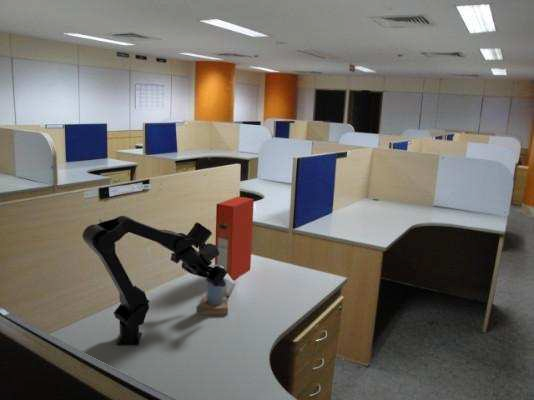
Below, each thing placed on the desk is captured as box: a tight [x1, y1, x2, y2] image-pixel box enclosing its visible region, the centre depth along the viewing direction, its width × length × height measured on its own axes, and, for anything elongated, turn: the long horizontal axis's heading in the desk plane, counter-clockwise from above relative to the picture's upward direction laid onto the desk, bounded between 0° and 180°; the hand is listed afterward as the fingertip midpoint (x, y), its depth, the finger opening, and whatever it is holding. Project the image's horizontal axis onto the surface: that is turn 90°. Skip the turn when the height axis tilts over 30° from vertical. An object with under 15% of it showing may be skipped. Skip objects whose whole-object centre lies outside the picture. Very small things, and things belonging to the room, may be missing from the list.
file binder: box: [214, 196, 255, 281], centre depth 187 cm, size 8×17×32 cm, turn 154°
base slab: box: [201, 296, 229, 316], centre depth 158 cm, size 9×9×2 cm
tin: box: [206, 264, 224, 306], centre depth 157 cm, size 6×6×13 cm
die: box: [223, 274, 236, 298], centre depth 169 cm, size 8×9×10 cm
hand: (216, 281), depth 157 cm, fingers open, 9 cm apart
